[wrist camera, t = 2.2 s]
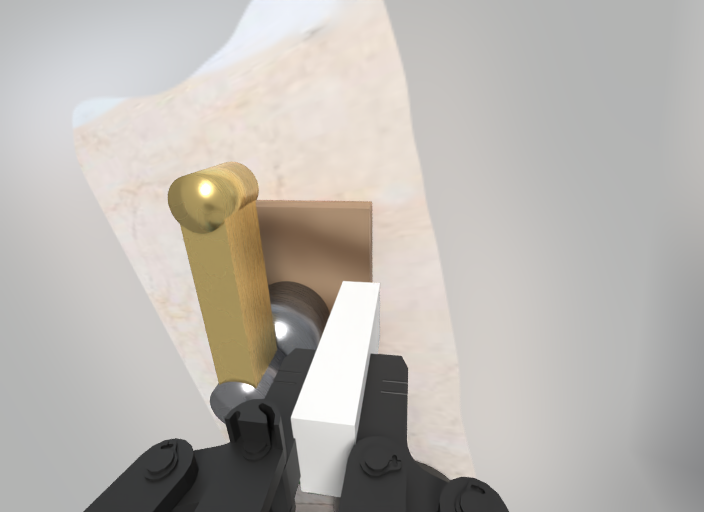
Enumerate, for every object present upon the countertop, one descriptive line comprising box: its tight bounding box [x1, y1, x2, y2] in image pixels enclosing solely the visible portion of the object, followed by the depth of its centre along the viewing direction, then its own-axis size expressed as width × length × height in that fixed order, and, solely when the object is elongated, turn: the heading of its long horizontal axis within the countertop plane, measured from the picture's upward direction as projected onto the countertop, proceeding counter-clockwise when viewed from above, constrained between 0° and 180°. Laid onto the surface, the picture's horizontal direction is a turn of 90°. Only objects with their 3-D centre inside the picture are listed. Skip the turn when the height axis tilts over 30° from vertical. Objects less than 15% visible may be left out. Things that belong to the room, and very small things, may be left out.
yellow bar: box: [168, 162, 286, 424], centre depth 21 cm, size 16×4×4 cm, turn 2°
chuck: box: [268, 281, 330, 356], centre depth 29 cm, size 13×7×6 cm, turn 2°
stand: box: [256, 200, 372, 314], centre depth 31 cm, size 20×14×2 cm
